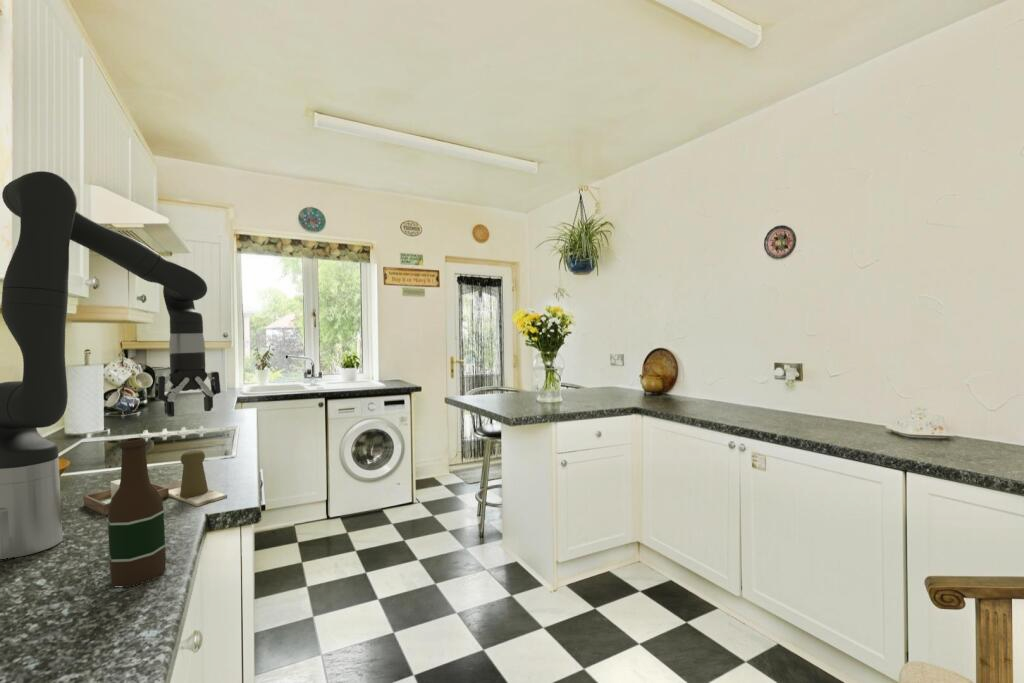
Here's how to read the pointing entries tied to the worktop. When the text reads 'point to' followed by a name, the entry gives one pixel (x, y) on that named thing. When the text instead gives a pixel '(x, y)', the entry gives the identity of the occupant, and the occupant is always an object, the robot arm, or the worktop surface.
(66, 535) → the worktop surface
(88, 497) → the dice tray
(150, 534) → the beer bottle
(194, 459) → the cork
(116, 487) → the die
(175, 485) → the board
